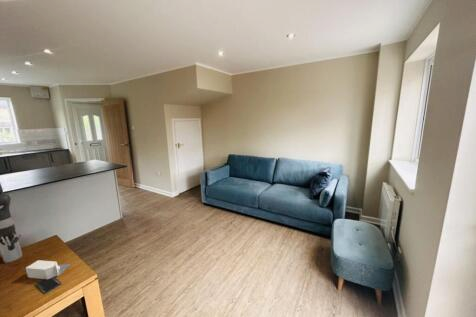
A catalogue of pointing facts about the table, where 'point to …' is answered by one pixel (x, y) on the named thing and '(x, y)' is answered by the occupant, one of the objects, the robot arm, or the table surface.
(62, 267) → the mat
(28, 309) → the table surface
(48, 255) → the table surface
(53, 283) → the phone
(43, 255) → the table surface
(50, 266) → the milk carton
